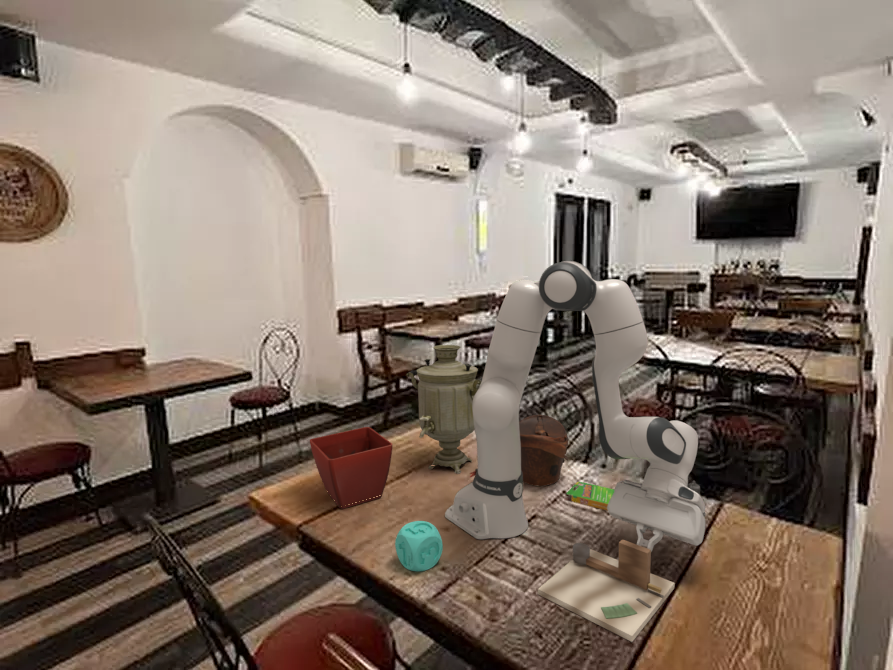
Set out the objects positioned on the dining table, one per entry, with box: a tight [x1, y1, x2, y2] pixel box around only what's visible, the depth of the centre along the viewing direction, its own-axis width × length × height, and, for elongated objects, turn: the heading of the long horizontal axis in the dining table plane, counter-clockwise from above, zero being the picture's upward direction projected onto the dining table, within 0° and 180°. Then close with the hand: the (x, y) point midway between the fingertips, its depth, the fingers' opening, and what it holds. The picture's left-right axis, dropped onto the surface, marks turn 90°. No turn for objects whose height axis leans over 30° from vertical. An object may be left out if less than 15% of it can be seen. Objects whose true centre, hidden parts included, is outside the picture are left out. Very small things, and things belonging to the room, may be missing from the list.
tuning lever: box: [572, 539, 662, 593], centre depth 109 cm, size 19×4×8 cm, turn 46°
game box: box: [566, 481, 615, 512], centre depth 144 cm, size 3×10×20 cm
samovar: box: [406, 344, 483, 475], centre depth 169 cm, size 30×26×40 cm
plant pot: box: [309, 426, 394, 510], centre depth 152 cm, size 19×19×17 cm
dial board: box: [537, 548, 676, 643], centre depth 107 cm, size 20×20×1 cm
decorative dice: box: [394, 520, 444, 572], centre depth 119 cm, size 8×8×8 cm
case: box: [519, 414, 569, 487], centre depth 160 cm, size 18×20×18 cm
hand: (643, 548), depth 111 cm, fingers closed
